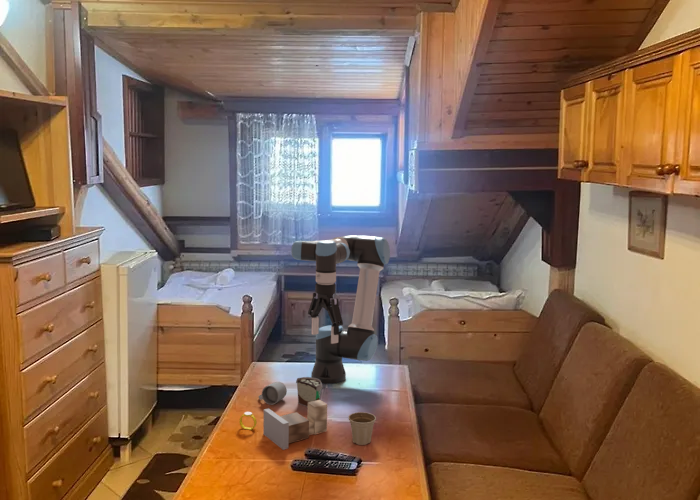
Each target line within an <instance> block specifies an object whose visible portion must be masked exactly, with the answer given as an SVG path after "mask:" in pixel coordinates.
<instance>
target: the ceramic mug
mask: <svg viewBox="0 0 700 500" xmlns="http://www.w3.org/2000/svg"><path fill="white" fill-rule="evenodd" d="M287 391H288V390H287V386H286V385H285V384H284V383H283V382H281V381H274V382H272V383H270V384H268V385H266V386H264V387H263V388H262V391H261V394H260V395H258V400H260V401H261V400H262V401H263V402H264V403H265V404H267V405H270V406H272V405H276V404H277V403H279V402H280V401H282V400H283V399H284V398H285V397H286V395H287Z"/></svg>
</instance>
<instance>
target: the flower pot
mask: <svg viewBox="0 0 700 500" xmlns="http://www.w3.org/2000/svg"><path fill="white" fill-rule="evenodd" d="M347 418H348V420H349V423H350V428H351V437H352V442H353V444H356V445H359V446H366V445H368V444H370V443H371V441H372V436H373V428H374V424H375V421H376V420H377V418H376V415H374V414H373V413H371V412H365V411H359V412H353V413H351V414H349V415H348V417H347Z"/></svg>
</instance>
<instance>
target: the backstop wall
mask: <svg viewBox="0 0 700 500" xmlns="http://www.w3.org/2000/svg"><path fill="white" fill-rule="evenodd" d="M280 416H281V415H279V414H277V413H276V412H275V411H273V410H272V409H270V408H265V409H263V428H262V429H263V436H265V437H266V438H268V439H269V440H270V441H271V442H273V443H274V445H276V446H277V447H279V448H280V449H281V450H283V451H285V450H287V449H289V443H288V440H289V422H287V421H286V420H284V419H283V418H282V417H280Z"/></svg>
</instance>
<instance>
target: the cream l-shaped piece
mask: <svg viewBox="0 0 700 500" xmlns="http://www.w3.org/2000/svg"><path fill="white" fill-rule="evenodd" d="M306 419H307V420H309V436H312V435H318V434H321V433H325V432H328V429H327V428H328V403H326V402H324V401H322V400H321V399H320V400H316V401H312V402H308V407H307V418H306Z"/></svg>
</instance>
